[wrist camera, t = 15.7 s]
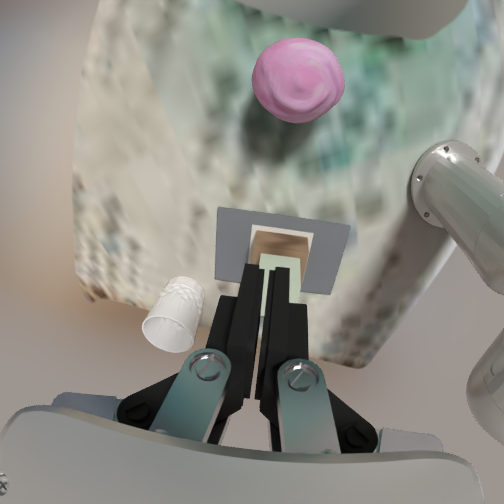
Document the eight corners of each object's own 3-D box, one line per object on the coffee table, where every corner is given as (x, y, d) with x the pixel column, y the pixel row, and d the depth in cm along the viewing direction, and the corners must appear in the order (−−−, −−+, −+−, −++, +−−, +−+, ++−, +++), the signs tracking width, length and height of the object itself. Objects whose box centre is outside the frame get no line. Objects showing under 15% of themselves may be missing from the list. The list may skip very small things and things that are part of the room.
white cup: (214, 308, 52) (200, 353, 44) (172, 310, 54) (154, 352, 45) (200, 270, 48) (183, 314, 40) (156, 274, 50) (133, 316, 41)
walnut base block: (307, 237, 42) (309, 253, 39) (298, 277, 46) (299, 295, 43) (256, 230, 43) (253, 245, 39) (251, 271, 46) (248, 288, 43)
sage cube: (299, 258, 40) (300, 288, 35) (293, 288, 42) (293, 319, 37) (260, 253, 40) (256, 282, 35) (257, 284, 42) (252, 314, 37)
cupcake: (287, 127, 35) (287, 145, 27) (243, 71, 32) (227, 70, 24) (348, 88, 32) (369, 94, 23) (304, 30, 28) (310, 15, 20)
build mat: (350, 225, 41) (350, 227, 41) (330, 293, 48) (330, 295, 47) (218, 206, 42) (217, 208, 41) (215, 277, 48) (214, 279, 48)
